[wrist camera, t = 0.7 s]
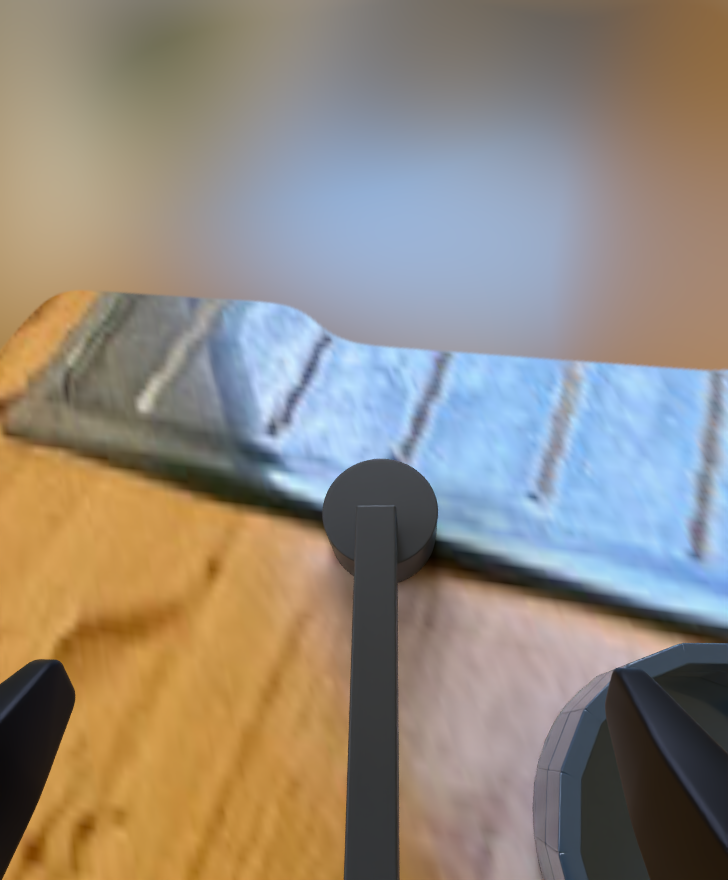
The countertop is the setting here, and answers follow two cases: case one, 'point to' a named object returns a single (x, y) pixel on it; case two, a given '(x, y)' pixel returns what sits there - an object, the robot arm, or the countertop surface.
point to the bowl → (613, 767)
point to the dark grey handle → (376, 642)
